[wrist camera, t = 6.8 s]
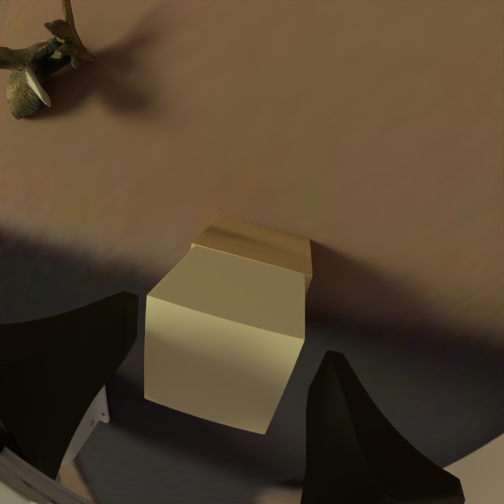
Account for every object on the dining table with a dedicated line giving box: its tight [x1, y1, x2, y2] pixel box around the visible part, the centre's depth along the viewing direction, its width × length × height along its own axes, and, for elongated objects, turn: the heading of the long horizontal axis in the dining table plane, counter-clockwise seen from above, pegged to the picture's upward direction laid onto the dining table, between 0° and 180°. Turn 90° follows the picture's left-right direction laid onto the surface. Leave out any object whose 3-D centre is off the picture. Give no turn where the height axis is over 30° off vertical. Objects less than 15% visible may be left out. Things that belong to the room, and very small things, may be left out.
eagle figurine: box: [0, 0, 95, 120], centre depth 13 cm, size 8×8×10 cm
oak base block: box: [191, 216, 313, 297], centre depth 16 cm, size 5×5×5 cm
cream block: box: [144, 245, 305, 434], centre depth 11 cm, size 4×4×4 cm
